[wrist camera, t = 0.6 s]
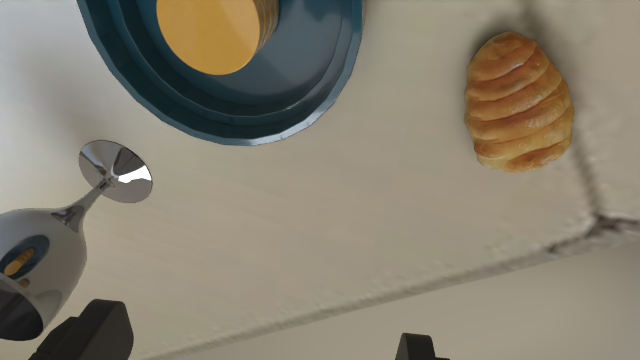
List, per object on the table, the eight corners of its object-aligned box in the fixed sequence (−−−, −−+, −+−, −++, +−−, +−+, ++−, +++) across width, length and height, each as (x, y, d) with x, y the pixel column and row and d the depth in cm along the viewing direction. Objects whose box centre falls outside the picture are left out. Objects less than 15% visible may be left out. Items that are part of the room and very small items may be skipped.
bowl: (263, -252, 19) (234, -291, 16) (409, 50, 26) (413, 73, 23) (65, -45, 26) (12, -38, 22) (225, 150, 33) (205, 179, 30)
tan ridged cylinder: (243, -68, 23) (212, -64, 19) (297, 22, 26) (280, 43, 22) (175, -12, 26) (134, 2, 22) (231, 65, 28) (204, 91, 24)
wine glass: (57, 145, 36) (-113, 267, 23) (126, 128, 33) (-21, 252, 21) (106, 211, 40) (-17, 343, 27) (171, 199, 38) (68, 338, 25)
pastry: (439, 55, 26) (447, 74, 23) (546, 8, 24) (571, 22, 21) (478, 162, 31) (489, 190, 28) (572, 131, 28) (596, 158, 25)
